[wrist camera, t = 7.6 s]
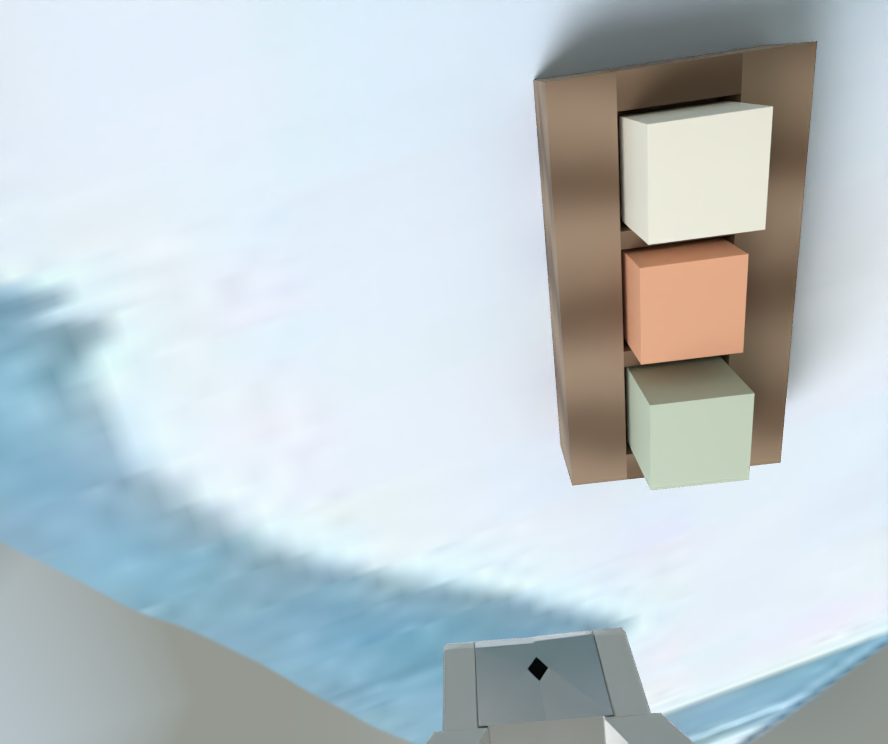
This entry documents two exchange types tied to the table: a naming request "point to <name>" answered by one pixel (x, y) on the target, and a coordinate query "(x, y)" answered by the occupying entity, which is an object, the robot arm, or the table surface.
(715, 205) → the cream key
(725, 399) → the sage key
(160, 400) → the table surface
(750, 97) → the board
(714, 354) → the terracotta key
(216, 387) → the table surface
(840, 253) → the table surface
